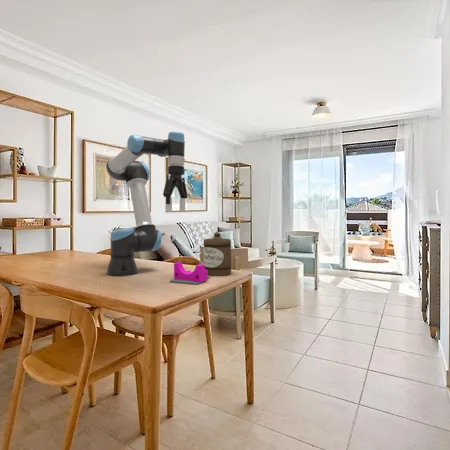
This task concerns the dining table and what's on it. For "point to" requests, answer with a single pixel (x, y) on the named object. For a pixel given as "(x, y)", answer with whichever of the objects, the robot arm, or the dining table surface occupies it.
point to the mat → (185, 281)
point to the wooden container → (217, 256)
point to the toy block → (190, 273)
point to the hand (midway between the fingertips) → (175, 211)
